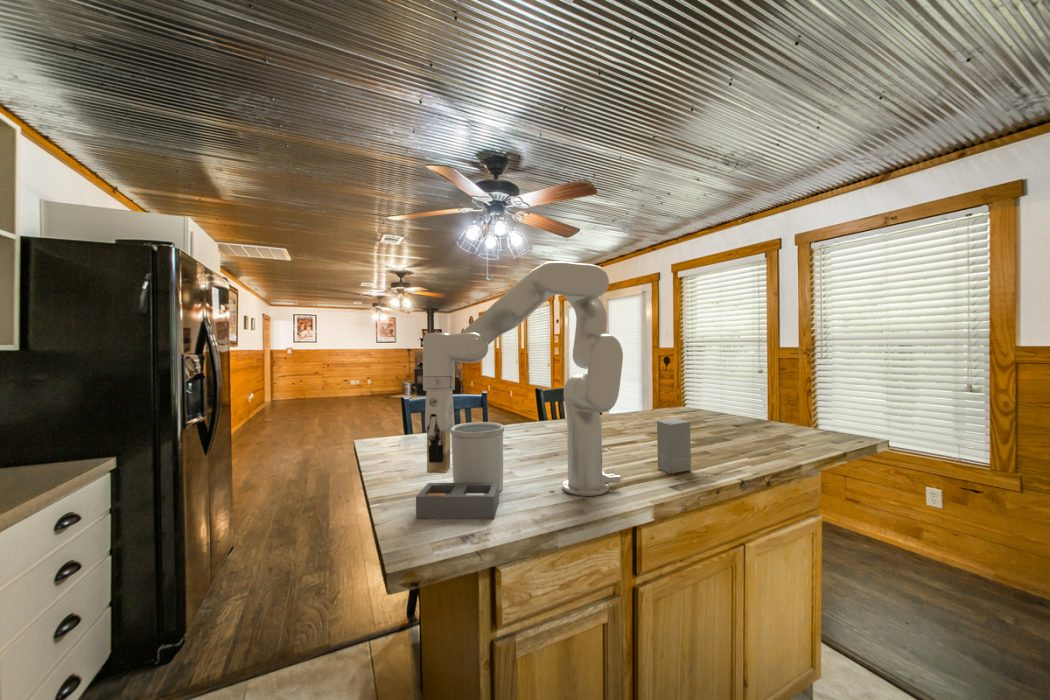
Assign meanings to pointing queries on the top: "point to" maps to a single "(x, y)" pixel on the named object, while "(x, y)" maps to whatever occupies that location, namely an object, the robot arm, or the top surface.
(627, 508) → the top surface
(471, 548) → the top surface
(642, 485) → the top surface
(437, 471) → the plug
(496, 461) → the utensil holder
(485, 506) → the socket block
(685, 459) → the skincare box
